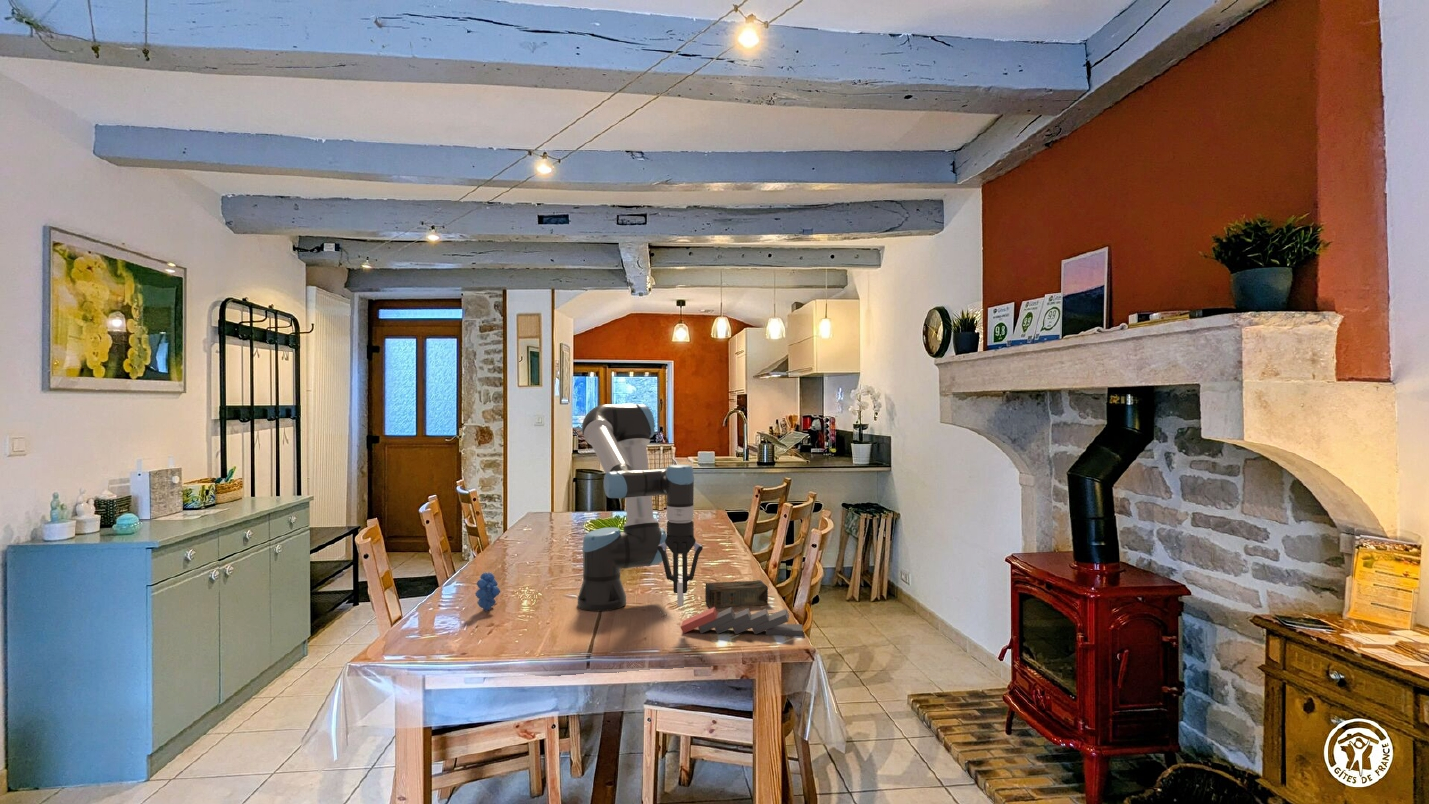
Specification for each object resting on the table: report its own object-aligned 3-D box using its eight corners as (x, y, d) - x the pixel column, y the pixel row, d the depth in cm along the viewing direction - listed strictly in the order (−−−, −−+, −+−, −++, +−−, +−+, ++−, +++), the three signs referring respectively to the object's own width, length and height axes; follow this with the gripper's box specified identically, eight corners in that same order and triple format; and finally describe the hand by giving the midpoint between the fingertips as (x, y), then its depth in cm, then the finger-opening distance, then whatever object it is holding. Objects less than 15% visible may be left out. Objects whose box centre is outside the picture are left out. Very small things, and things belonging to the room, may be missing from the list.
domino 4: (751, 627, 187) (785, 614, 186) (753, 621, 192) (786, 608, 191) (754, 634, 187) (788, 621, 186) (756, 628, 192) (789, 615, 191)
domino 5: (765, 629, 187) (802, 630, 186) (766, 623, 192) (802, 624, 191) (766, 637, 187) (802, 638, 186) (766, 630, 192) (802, 631, 191)
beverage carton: (769, 605, 215) (768, 584, 215) (709, 610, 211) (709, 588, 211) (761, 598, 223) (761, 577, 223) (704, 602, 218) (703, 581, 218)
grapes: (492, 617, 204) (491, 576, 204) (470, 616, 205) (470, 576, 205) (508, 605, 216) (508, 567, 216) (487, 604, 217) (487, 566, 217)
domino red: (680, 626, 189) (713, 612, 188) (682, 621, 194) (714, 606, 193) (683, 633, 189) (716, 618, 188) (685, 627, 194) (717, 613, 193)
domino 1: (697, 627, 189) (730, 612, 188) (699, 621, 194) (731, 606, 193) (701, 633, 189) (733, 618, 188) (702, 627, 194) (734, 613, 193)
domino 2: (714, 627, 188) (747, 613, 188) (715, 621, 193) (748, 608, 193) (717, 634, 188) (750, 620, 188) (718, 628, 193) (751, 614, 193)
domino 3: (732, 628, 188) (765, 613, 187) (733, 622, 193) (766, 608, 192) (735, 634, 188) (768, 620, 187) (736, 628, 193) (769, 614, 192)
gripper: (655, 522, 188) (655, 608, 188) (702, 523, 187) (702, 609, 188) (658, 517, 195) (659, 600, 196) (704, 518, 195) (704, 600, 195)
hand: (680, 604), depth 192 cm, fingers closed
